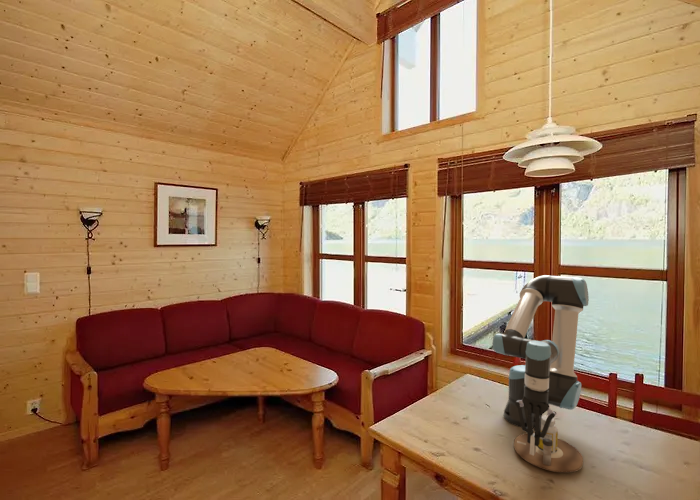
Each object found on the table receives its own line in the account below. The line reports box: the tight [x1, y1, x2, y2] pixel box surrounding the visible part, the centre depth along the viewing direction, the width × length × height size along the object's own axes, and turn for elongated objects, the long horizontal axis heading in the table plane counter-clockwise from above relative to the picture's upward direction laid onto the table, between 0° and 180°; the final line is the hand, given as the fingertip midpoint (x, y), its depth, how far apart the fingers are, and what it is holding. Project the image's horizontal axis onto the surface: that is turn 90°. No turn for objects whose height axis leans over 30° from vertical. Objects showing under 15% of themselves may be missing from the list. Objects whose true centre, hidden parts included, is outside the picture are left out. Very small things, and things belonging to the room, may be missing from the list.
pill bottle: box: [537, 414, 559, 454], centre depth 131 cm, size 6×6×12 cm
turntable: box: [513, 432, 584, 474], centre depth 131 cm, size 22×22×9 cm
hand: (532, 453), depth 126 cm, fingers closed
